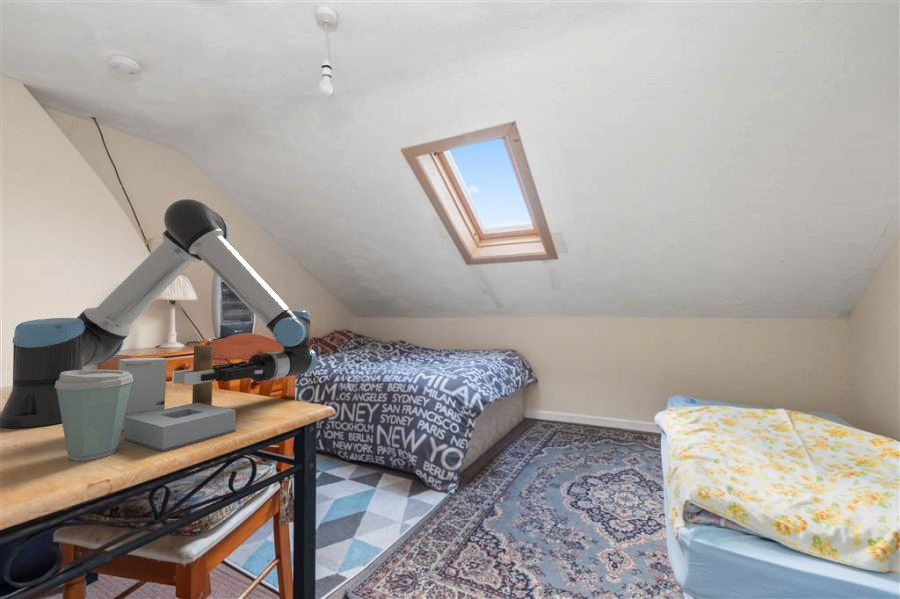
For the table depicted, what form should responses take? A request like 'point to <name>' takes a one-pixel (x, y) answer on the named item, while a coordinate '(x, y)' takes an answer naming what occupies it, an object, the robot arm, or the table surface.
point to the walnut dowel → (202, 363)
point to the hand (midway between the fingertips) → (179, 378)
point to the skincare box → (145, 385)
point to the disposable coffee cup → (92, 411)
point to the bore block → (179, 426)
